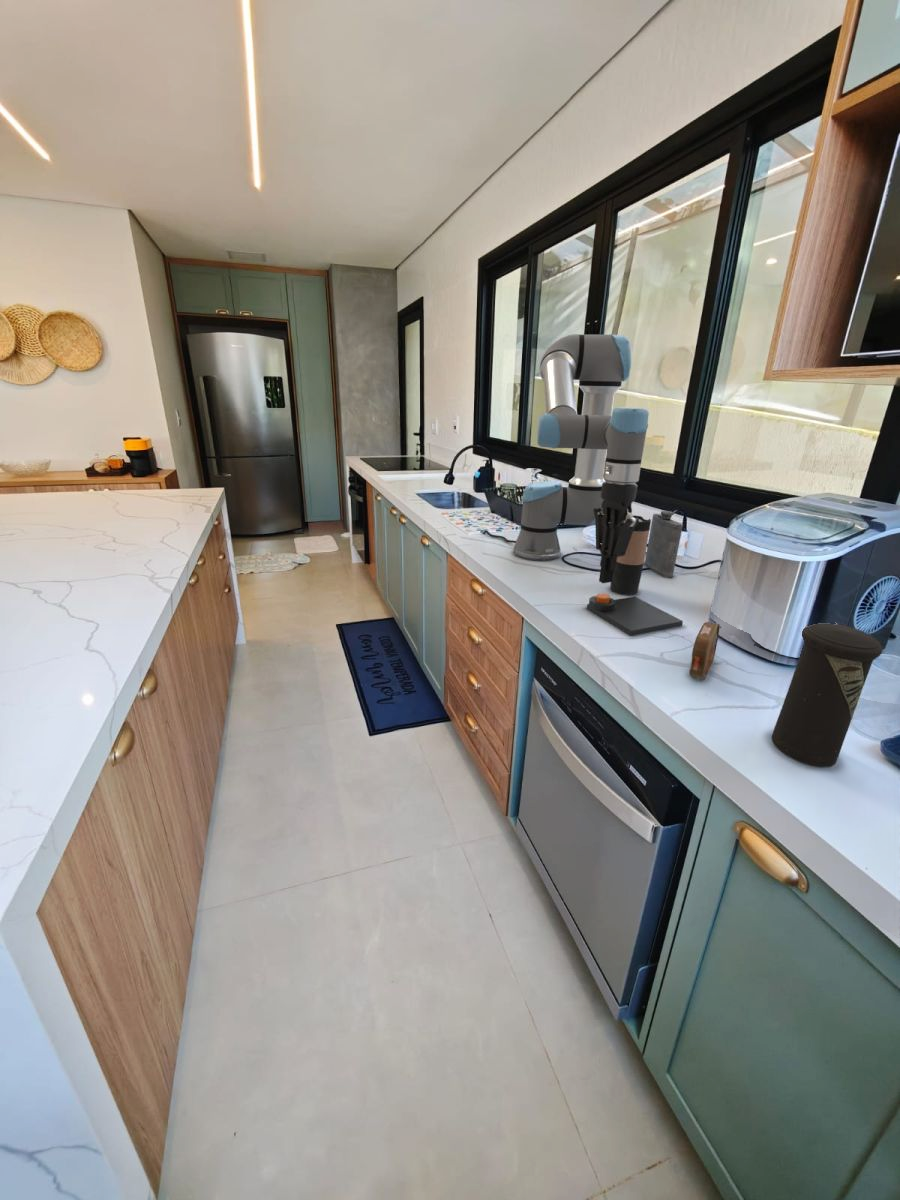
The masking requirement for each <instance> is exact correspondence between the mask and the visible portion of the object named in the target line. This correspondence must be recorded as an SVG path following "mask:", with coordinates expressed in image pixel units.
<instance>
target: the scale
mask: <svg viewBox="0 0 900 1200" xmlns="http://www.w3.org/2000/svg"><path fill="white" fill-rule="evenodd" d="M586 610H587V611H589V612H590V613H592V614H594V615H596V616H597V617H599V618H600V619H602V620H604V621H605V622H607V623H608V624H610V625H612V626H613V627H615V628H617V629H619V630H620V631H621V632H623V633H624V634H626V635H628V636H630V637H634V636H639V635H644V634H648V633H654V632H658V631H659V632H660V631H665V630H670V629H674V628H679V627H682V626H683V623H684V621H683V620H682V619H680V618H677V617H676V616H675V615H674V616H673V615H672V614H670V613H668V612H666V611H664V610H662V609H661V608H659V607H656V606H654V605H653V604H650V603H649V602H647V601H645V600H643V599H641V598H639V597H637V596H630V597H623V598H617V599H614V598H612V597H610V601H609V603H606V604H605V603H599V602H596V595H592V596H591V597H589V598H588V603H587V604H586Z"/></svg>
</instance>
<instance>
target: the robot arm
mask: <svg viewBox="0 0 900 1200" xmlns="http://www.w3.org/2000/svg"><path fill="white" fill-rule="evenodd" d="M630 343H631V342H630V341H629V338H628V337H627V336H625V335H622V334H621V335H620V334H612V333H610V334H580V333H577V334H576V333H574V334H569V335H566V336H563V337H561V338H559V339H557V340H555V342H553V343H552V344H551V345H550V346H549V347H548V348H547V349H546V350H545V352H544V353H543V355H542V358H541V360H540V364H539V375H540V377H541V380H542V381H543V384H544V386H543V387H544V408H545V413H542V414H541V415H540V416H539V418H538V422H537V432H536V433H537V436H536V438H537V439H536V442H537V443H536V444H537V445H538V446H539V447H541V448H549V449H577V452H576V461H575V468H574V469H575V470H574V476H573V477H572V478H571V479H569V481H568V486H563V483H562V482H560V481H552V480H548V481H547V480H546V481H538V482H533V483H530V484H528V485H526V486H525V488H524V489H523V496H522V499H521V500H522V501H521V502H522V509H521V523H520V531H519V533H518V535H517V538H516V540H513V539H512V540H511V539H507V537H505V536H502V535H496V534H492V533H490V532H489V530H484V531H483V532H482V534H484V535H486V534H487V535H488V536H489V537H492V538H495V539H496V538H497V539H502V540H504V541H505V542H506V543H509V544H514V545H513V554H514V555H515V556H516V557H519V558H522V559H525V560H532V561H552V560H556V559H558V558H560V556H561V546H560V541H559V536H558V525H574V526H586V527H589V526H595V549H596V551H599V553H600V555H601V556H600V561H599V563H600V564H599V565H600V566H599V567H600V573H599V578H598V582H599V583H601V584H608V583H611V582H612V579H613V573H614V570H615V568H616V562H617V558H618V557H620V556H624V555H625V553H626V550H627V547H628V544H629V542H630V539H631V536H632V533H633V530H634V528H635V526H636V525H637V524H638V522H639V519H638V518H634V517H633V507H632V503H633V502H634V501H636V498H637V493H638V482H639V481H640V475H641V466H642V459H643V454H644V448H645V442H646V437H647V430H648V429H649V414H650V413H649V410H648V409H647V408H644V407H642V408H641V407H615V408H614V401H615V394H616V393H617V392H618V391H619V390H620V389H622V382H625V381H627V380H628V379H629V376H630V371H631V366H632V365H631V364H632V351H631V344H630ZM574 381H579V388H580V390H581V391H582V392H583V399H582V400H583V401H582V408H581V414H578V409H577V401H576V392H575V391H576V389H575V383H574Z"/></svg>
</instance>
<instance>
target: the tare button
mask: <svg viewBox="0 0 900 1200" xmlns="http://www.w3.org/2000/svg"><path fill="white" fill-rule="evenodd" d="M595 596H596V602H599V603H605V604H606V603H609V601H610V598H611V596H610V595H609V594H607V593H597V594H596V595H595Z"/></svg>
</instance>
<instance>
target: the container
mask: <svg viewBox="0 0 900 1200" xmlns="http://www.w3.org/2000/svg"><path fill="white" fill-rule="evenodd" d="M802 637H803V640H804V645H803V648H802V651H801V654H800V657H799V659H797V664H796V666H795V669H794V672H793V675H792V678H791V681H790V683H789V687H788V689H787V691H786V692H787V693H786V695H785V698H784V701H783V703H782V705H781V709H780V711H779V713H778V714H779V715H778V717H777V719H776V723H775V725H774V728H773V731H772V734H771V741H772V743H773V745H774V747H775V748H776V749H777V750H779V751H780V752H781V753H782V754H784V755H786V756H787V757H789V758H791V759H792V760H795V761H796V762H800V763H802V764H805V765H808V766H812V767H817V768H827V767H828V768H829V767H833V766H834V765H835V764H836V763H837V761H838V759H839V756H840V753H841V750H842V747H843V745H844V742H845V739H846V737H847V733H848V731H849V728H850V725H851V722H852V719H853V717H854V713H855V711H856V709H857V705H858V702H859V700H860V697H861V694H862V691H863V690H864V686H865V683H866V681H867V678H868V675H869V673H870V670H871V668H872V664H873V662H874V661H875V660H876V659H877V658H879V657H880V656H881V655H882V653H883V646H882V644H881V642H879V640H878V639H877V638H875V637H874V636H872V635H871V634H869V633H868V632H865V631H862V630H860V629H857V628H854V627H851V626H847V625H843V624H839V623H836V624H830V623H818V624H813V625H810V626H807V627H805V628H804V629H803V631H802Z"/></svg>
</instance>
